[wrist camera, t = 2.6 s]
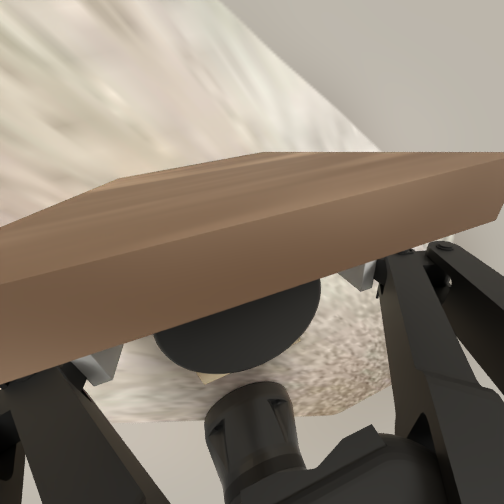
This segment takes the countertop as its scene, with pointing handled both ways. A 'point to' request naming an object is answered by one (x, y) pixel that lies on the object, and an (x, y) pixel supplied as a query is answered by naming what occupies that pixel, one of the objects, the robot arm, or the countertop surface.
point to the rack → (219, 241)
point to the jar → (242, 332)
